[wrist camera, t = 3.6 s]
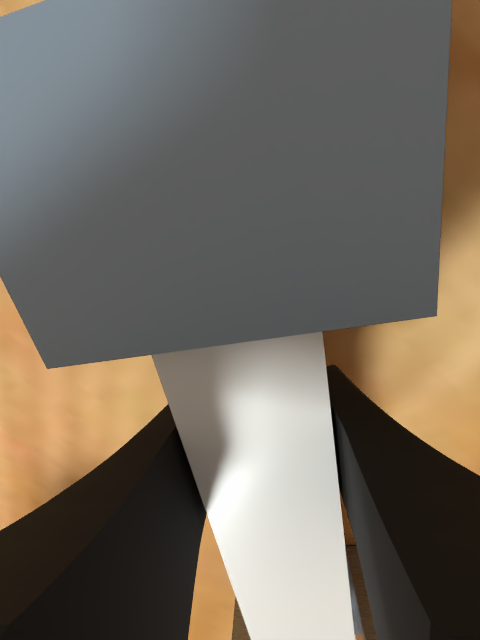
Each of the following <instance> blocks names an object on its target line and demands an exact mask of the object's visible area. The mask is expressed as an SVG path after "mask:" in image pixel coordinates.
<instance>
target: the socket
mask: <svg viewBox="0 0 480 640" xmlns="http://www.w3.org/2000/svg"><path fill="white" fill-rule="evenodd" d="M451 12H452V0H45V1H42V2H40V3H37V4H34V5H31V6H29V7H26V8H23V9H21V10H18V11H15V12H12V13H10V14H7V15H4V16H1V17H0V277H1V279H2V281H3V283H4V285H5V287H6V289H7V291H8V293H9V295H10V297H11V299H12V301H13V302H14V304H15V306H16V308H17V310H18V312H19V314H20V316H21V318H22V320H23V322H24V324H25V326H26V328H27V330H28V332H29V334H30V336H31V338H32V340H33V342H34V344H35V346H36V348H37V350H38V352H39V354H40V356H41V358H42V360H43V362H44V364H45V366H46V368H47V369H50V368H58V367H65V366H72V365H80V364H87V363H94V362H102V361H109V360H117V359H124V358H131V357H139V356H146V355H153V354H161V353H168V352H176V351H183V350H190V349H198V348H205V347H212V346H220V345H227V344H235V343H242V342H249V341H257V340H264V339H271V338H279V337H286V336H294V335H301V334H308V333H316V332H323V331H330V330H338V329H345V328H353V327H360V326H367V325H375V324H382V323H389V322H397V321H404V320H412V319H419V318H426V317H434V316H437V299H438V279H439V258H440V238H441V217H442V197H443V176H444V156H445V135H446V115H447V94H448V74H449V53H450V33H451Z"/></svg>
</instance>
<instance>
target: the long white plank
mask: <svg viewBox="0 0 480 640" xmlns="http://www.w3.org/2000/svg"><path fill="white" fill-rule="evenodd" d="M152 358H153V361H154V364H155V366H156V369H157V372H158V375H159V378H160V381H161V384H162V387H163V389H164V392H165V395H166V398H167V401H168V404H169V407H170V409H171V412H172V415H173V418H174V421H175V424H176V427H177V430H178V432H179V435H180V438H181V441H182V444H183V447H184V450H185V452H186V455H187V458H188V461H189V464H190V467H191V470H192V472H193V475H194V478H195V481H196V484H197V487H198V490H199V493H200V495H201V498H202V501H203V504H204V507H205V510H206V513H207V515H208V518H209V521H210V524H211V527H212V530H213V533H214V536H215V538H216V541H217V544H218V547H219V550H220V553H221V556H222V558H223V561H224V564H225V567H226V570H227V573H228V576H229V578H230V581H231V584H232V587H233V590H234V593H235V596H236V599H237V601H238V604H239V607H240V610H241V613H242V616H243V619H244V621H245V624H246V627H247V630H248V633H249V636H250V639H251V640H355V635H354V626H353V616H352V607H351V597H350V588H349V578H348V569H347V559H346V550H345V540H344V531H343V521H342V512H341V502H340V493H339V484H338V474H337V465H336V455H335V446H334V436H333V427H332V417H331V408H330V398H329V389H328V379H327V370H326V360H325V351H324V341H323V332H316V333H308V334H301V335H294V336H286V337H279V338H271V339H264V340H257V341H249V342H242V343H235V344H227V345H220V346H212V347H205V348H198V349H190V350H183V351H176V352H168V353H161V354H153V355H152Z"/></svg>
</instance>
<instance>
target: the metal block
mask: <svg viewBox="0 0 480 640" xmlns="http://www.w3.org/2000/svg"><path fill="white" fill-rule="evenodd" d="M345 550H346V559H347V569H348V578H349V588H350V597H351V607H352V616H353V626H354V634H356V639H357V640H377V636H376V631H375V627H374V622H373V618H372V613H371V609H370V604H369V600H368V595H367V591H366V586H365V582H364V577H363V573H362V569H361V564H360V560H359V555H358V551H357V546H345ZM232 640H251V639H250V636H249V633H248V630H247V627H246V624H245V621H244V619H243V616H242V613H241V610H240V607H239V604H238V601H237V599H236V597H235V609H234V620H233V631H232Z"/></svg>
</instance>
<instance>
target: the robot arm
mask: <svg viewBox="0 0 480 640" xmlns="http://www.w3.org/2000/svg"><path fill="white" fill-rule="evenodd" d="M326 370H327V379H328V389H329V398H330V408H331V417H332V427H333V436H334V446H335V455H336V465H337V474H338V484H339V489H340V492H341V495H342V499H343V502H344V505H345V508H346V511H347V515H348V518H349V521H350V524H351V528H352V531H353V535H354V539H355V542H356V546H357V551H358V555H359V560H360V564H361V569H362V573H363V577H364V582H365V586H366V591H367V595H368V600H369V604H370V609H371V613H372V618H373V622H374V627H375V631H376V636H377V640H480V476H479V475H477V474H475V473H474V472H472V471H470V470H468V469H467V468H465V467H463V466H462V465H460V464H458V463H456V462H455V461H453V460H451V459H450V458H448V457H447V456H445V455H443V454H442V453H440V452H439V451H437V450H436V449H434V448H433V447H431V446H430V445H428V444H427V443H425V442H424V441H422V440H421V439H419V438H418V437H417V436H415V435H414V434H412V433H411V432H410V431H408V430H407V429H406V428H404V427H403V426H402V425H400V424H399V423H398V422H397V421H395V420H394V419H393V418H392V417H390V416H389V415H388V414H387V413H385V412H384V411H383V410H382V409H381V408H379V407H378V406H377V405H376V404H375V403H374V402H373V401H371V400H370V399H369V398H368V397H367V396H366V395H365V394H364V393H363V392H361V391H360V390H359V389H358V388H357V387H356V386H355V385H354V384H353V383H352V382H351V381H350V380H349V379H348V378H347V377H346V376H345V375H344V373H343V372H342V371H341V370H340V369H339V368H338V367H337V366H335V365H330V366H326ZM206 514H207V513H206V510H205V507H204V504H203V501H202V498H201V495H200V493H199V490H198V487H197V484H196V481H195V478H194V475H193V472H192V470H191V467H190V464H189V461H188V458H187V455H186V452H185V450H184V447H183V444H182V441H181V438H180V435H179V432H178V430H177V427H176V424H175V421H174V418H173V415H172V412H171V409H170V407H169V404H168V405H167V406H166V407H165V408H164V409H163V410H162V411H161V412H160V413H159V414H158V415H157V416H156V417H155V418H154V419H152V420H151V421H150V422H149V423H148V424H147V425H146V426H145V427H144V428H143V429H142V430H140V431H139V432H138V433H137V434H136V435H135V436H134V437H133V438H132V439H130V440H129V441H128V442H127V443H126V444H125V445H124V446H123V447H121V448H120V449H119V450H118V451H117V452H115V453H114V454H113V455H112V456H111V457H109V458H108V459H107V460H105V461H104V462H103V463H102V464H100V465H99V466H98V467H96V468H95V469H94V470H92V471H91V472H90V473H88V474H87V475H86V476H84V477H83V478H81V479H80V480H79V481H77V482H76V483H74V484H73V485H71V486H70V487H68V488H67V489H65V490H64V491H62V492H61V493H60V494H58V495H57V496H55V497H54V498H52V499H51V500H49V501H48V502H46V503H45V504H43V505H42V506H40V507H39V508H37V509H35V510H34V511H32V512H31V513H29V514H27V515H26V516H24V517H22V518H21V519H19V520H18V521H16V522H14V523H12V524H11V525H9V526H7V527H6V528H4V529H2V530H1V531H0V640H188V633H189V625H190V616H191V608H192V600H193V591H194V584H195V577H196V569H197V562H198V555H199V548H200V542H201V537H202V532H203V527H204V523H205V518H206Z"/></svg>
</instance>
